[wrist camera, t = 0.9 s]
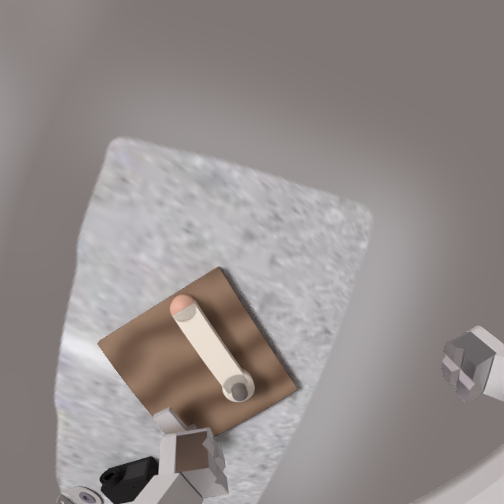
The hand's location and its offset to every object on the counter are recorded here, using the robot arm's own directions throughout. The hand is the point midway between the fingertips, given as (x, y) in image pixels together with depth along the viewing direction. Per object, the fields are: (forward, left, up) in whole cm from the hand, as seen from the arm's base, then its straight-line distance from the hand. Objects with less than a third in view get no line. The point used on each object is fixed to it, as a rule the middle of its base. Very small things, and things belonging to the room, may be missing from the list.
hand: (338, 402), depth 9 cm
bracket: (-24, +54, -39) cm, 71 cm away
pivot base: (-9, +12, -38) cm, 41 cm away
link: (-7, +8, -36) cm, 38 cm away
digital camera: (-21, +35, -38) cm, 56 cm away
